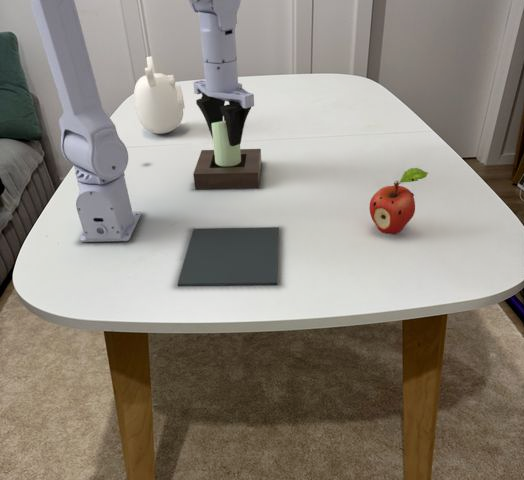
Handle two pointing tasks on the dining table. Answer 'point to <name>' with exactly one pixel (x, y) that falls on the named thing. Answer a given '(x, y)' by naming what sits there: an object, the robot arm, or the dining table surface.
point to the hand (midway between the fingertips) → (226, 141)
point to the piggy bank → (158, 101)
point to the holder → (228, 171)
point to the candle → (224, 146)
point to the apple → (395, 204)
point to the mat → (231, 257)
